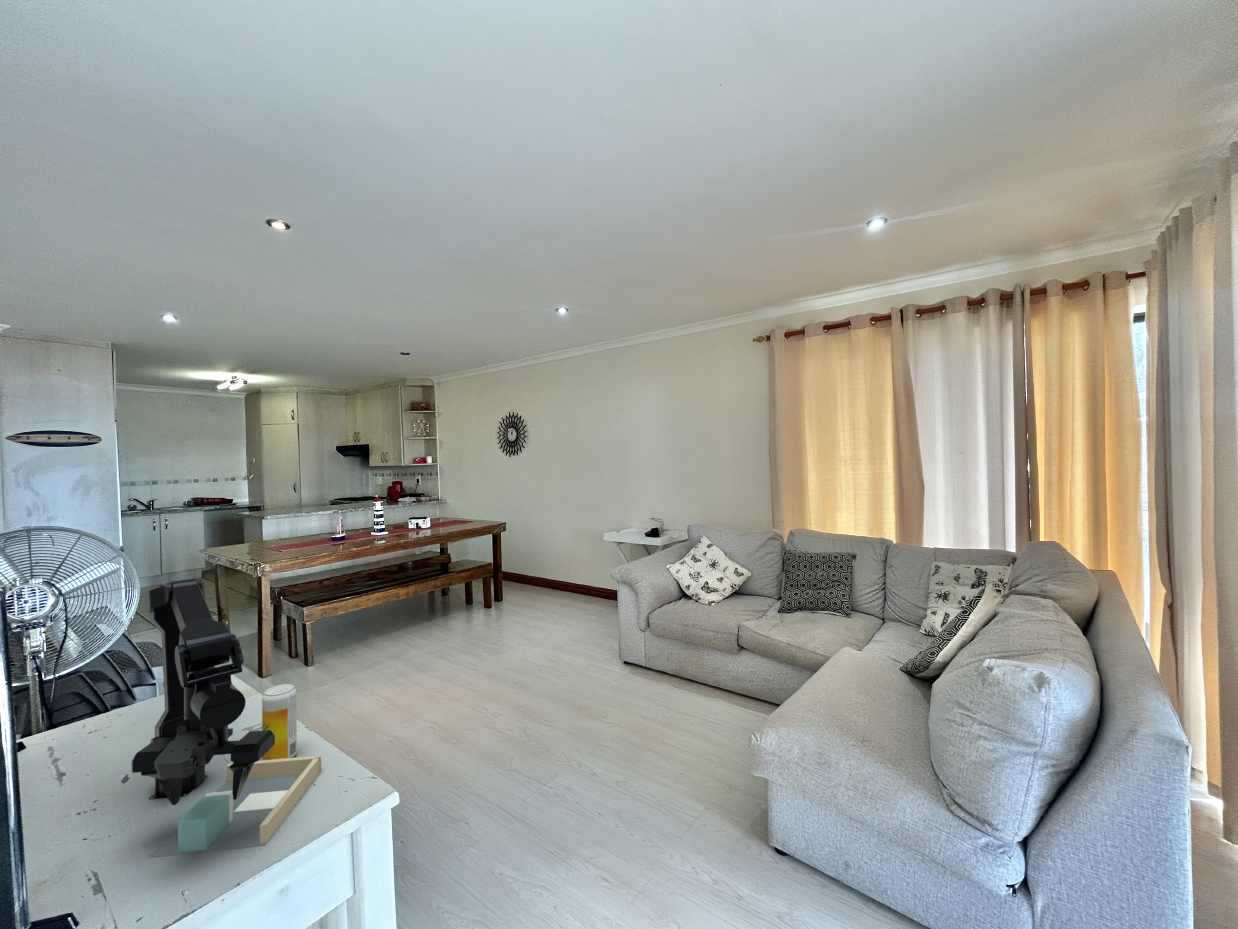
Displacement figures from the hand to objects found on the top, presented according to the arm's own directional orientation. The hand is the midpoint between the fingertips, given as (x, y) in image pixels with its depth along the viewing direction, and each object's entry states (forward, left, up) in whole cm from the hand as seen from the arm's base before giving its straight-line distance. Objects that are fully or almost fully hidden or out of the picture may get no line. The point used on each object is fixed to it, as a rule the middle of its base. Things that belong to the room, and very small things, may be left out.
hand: (206, 801), depth 84 cm
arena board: (+3, +6, -6) cm, 9 cm away
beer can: (0, +23, -7) cm, 24 cm away
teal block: (0, 0, -6) cm, 6 cm away
